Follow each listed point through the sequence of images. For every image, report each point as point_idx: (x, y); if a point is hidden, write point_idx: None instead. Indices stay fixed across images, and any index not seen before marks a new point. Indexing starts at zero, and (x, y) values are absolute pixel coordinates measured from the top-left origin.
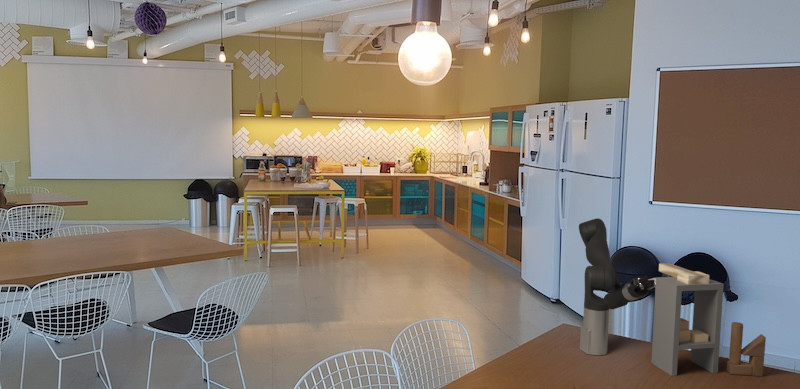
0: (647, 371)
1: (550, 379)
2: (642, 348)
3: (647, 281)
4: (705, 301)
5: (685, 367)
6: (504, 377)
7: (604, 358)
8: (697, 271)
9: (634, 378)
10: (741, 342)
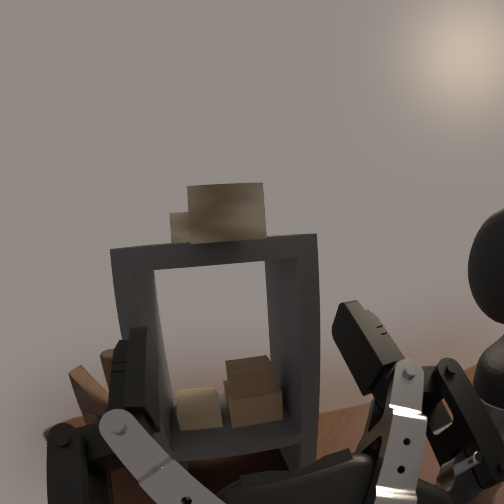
0: (333, 444)
1: (473, 372)
2: None
3: (335, 340)
4: (152, 320)
5: (231, 473)
6: None
7: (429, 470)
8: (173, 213)
9: (362, 414)
10: None
